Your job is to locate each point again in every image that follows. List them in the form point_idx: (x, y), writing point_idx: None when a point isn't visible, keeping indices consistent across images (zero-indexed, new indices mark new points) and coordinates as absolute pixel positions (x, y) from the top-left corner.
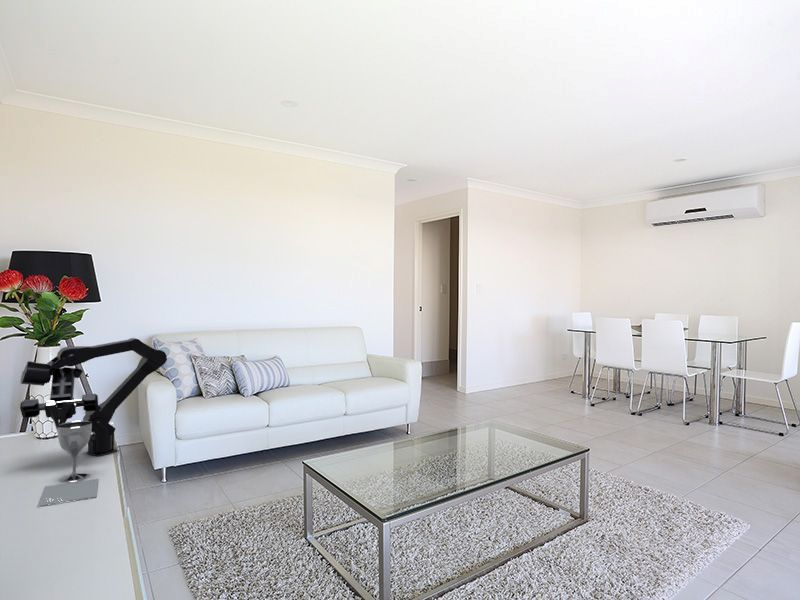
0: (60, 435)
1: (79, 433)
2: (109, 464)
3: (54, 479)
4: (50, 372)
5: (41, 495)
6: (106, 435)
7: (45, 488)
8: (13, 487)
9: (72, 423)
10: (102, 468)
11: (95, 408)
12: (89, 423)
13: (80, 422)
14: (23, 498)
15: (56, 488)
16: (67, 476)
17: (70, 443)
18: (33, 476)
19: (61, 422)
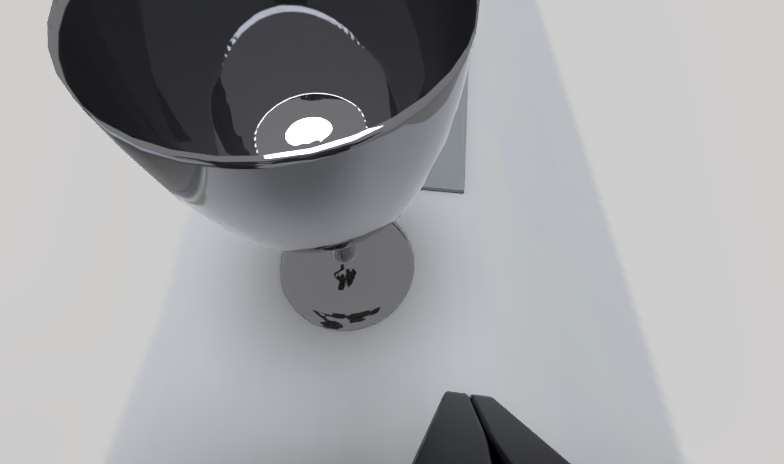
0: (430, 15)
1: None
2: (139, 409)
3: (431, 289)
4: None
5: (466, 100)
6: None
7: (460, 165)
8: (596, 273)
9: (276, 178)
10: (197, 345)
11: None
12: (78, 75)
13: (159, 160)
14: (523, 119)
15: None
16: (375, 256)
17: (353, 52)
18: (541, 417)
19: (445, 438)
